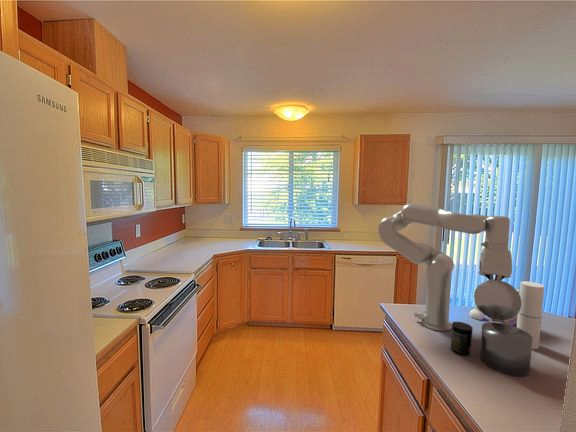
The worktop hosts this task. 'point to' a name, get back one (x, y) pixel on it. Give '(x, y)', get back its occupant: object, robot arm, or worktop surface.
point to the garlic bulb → (477, 314)
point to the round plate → (497, 300)
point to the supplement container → (461, 338)
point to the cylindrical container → (531, 310)
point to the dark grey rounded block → (506, 349)
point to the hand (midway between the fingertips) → (493, 290)
